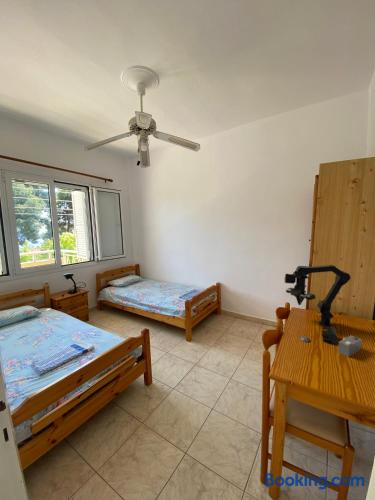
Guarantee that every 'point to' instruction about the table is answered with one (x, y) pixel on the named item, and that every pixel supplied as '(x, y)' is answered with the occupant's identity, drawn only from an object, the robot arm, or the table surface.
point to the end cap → (329, 335)
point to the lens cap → (304, 339)
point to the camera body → (349, 345)
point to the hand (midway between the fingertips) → (299, 304)
